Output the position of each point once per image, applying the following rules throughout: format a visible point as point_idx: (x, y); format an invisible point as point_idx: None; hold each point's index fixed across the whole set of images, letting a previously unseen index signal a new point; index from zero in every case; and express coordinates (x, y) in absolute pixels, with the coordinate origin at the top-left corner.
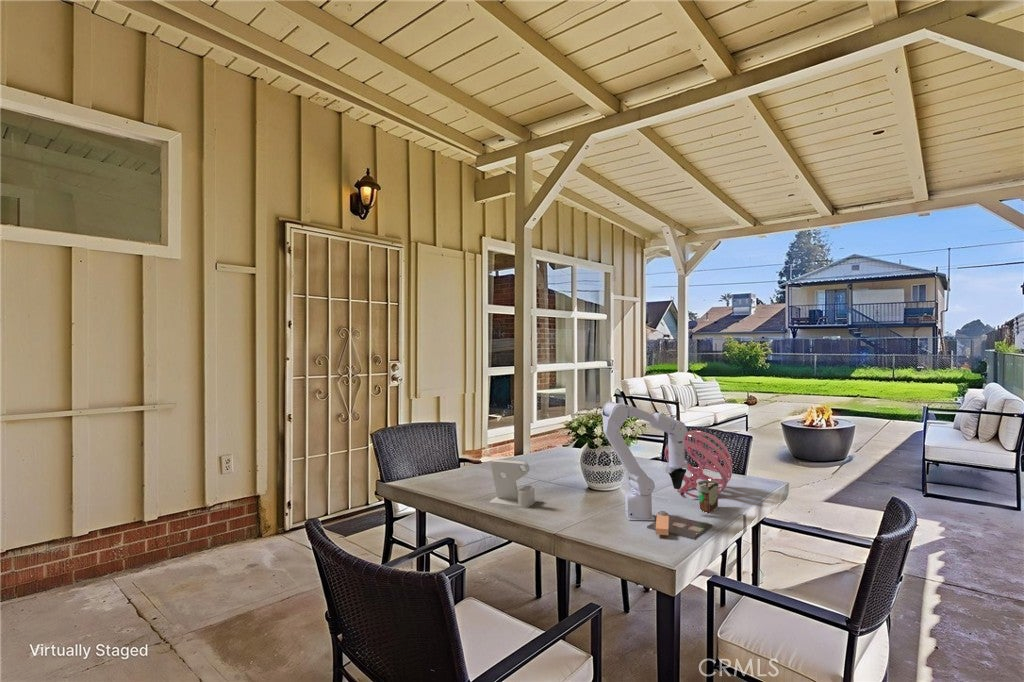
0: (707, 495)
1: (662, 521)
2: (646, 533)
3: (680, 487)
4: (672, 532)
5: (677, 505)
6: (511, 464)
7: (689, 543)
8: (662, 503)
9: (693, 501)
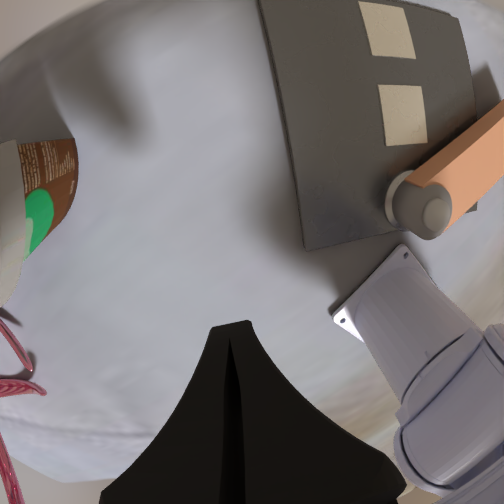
0: (21, 154)
1: (495, 154)
2: (500, 178)
3: (224, 331)
4: (474, 100)
5: (119, 322)
6: None
7: (478, 26)
8: (161, 370)
9: (25, 310)
